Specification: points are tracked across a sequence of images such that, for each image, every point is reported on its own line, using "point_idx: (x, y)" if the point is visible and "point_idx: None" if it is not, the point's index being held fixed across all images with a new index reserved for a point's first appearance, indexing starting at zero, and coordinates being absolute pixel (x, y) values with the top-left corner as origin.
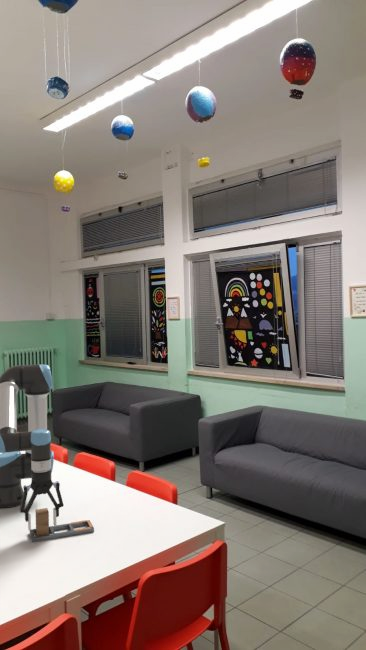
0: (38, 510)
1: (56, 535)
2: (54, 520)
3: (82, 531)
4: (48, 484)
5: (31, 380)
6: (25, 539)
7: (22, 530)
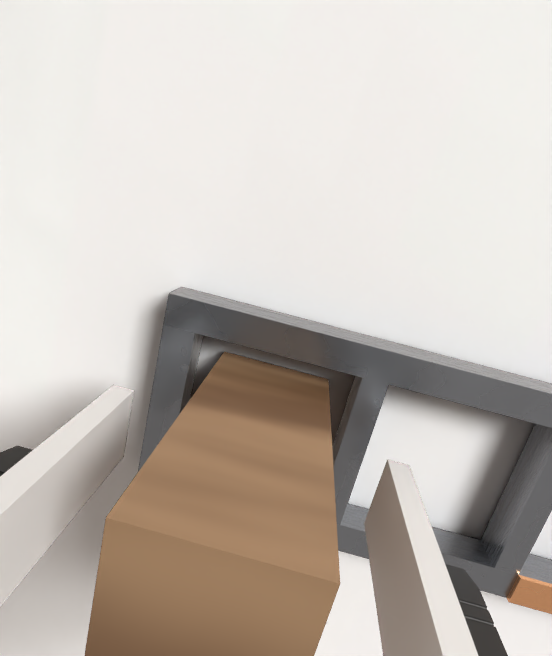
0: (144, 588)
1: (343, 545)
2: (373, 581)
3: None
4: None
5: None
6: (123, 374)
7: (147, 144)
